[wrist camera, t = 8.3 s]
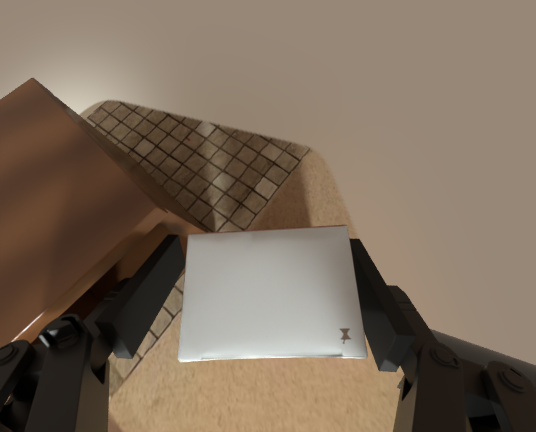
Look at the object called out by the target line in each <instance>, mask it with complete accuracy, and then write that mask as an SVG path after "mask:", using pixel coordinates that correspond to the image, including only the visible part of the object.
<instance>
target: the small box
mask: <svg viewBox="0 0 536 432" xmlns="http://www.w3.org/2000/svg"><path fill="white" fill-rule="evenodd" d="M367 356H368V354H367V347H366V341H365V335H364V329H363V322H362V316H361V310H360V304H359V297H358V291H357V285H356V278H355V272H354V265H353V258H352V252H351V246H350V240H349V233H348V227H347V225H334V226H317V227H300V228H283V229H266V230H248V231H231V232H213V233H197V234H189V235H188V241H187V253H186V265H185V278H184V290H183V302H182V314H181V327H180V340H179V352H178V360H179V361H180V362H190V361H201V360H217V359H248V358H289V357H340V358H364V359H366V358H367Z"/></svg>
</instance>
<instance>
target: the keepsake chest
mask: <svg viewBox="0 0 536 432" xmlns="http://www.w3.org/2000/svg"><path fill="white" fill-rule="evenodd" d="M197 233H209V232H208V231H207V230H205V229H204V228H203V227H202V226H201V225H200V224H199V223H198V222H197V221H196V220H195V219H194V218H193V217H192V216H191V215H190V214H189V213H188V212H187V211H186V210H185V209H184V208H183V207H182V206H181V205H180V204H179V203H178V202H177V201H176V200H175V199H174V198H173V197H172V196H171V195H170V194H169V193H168V192H167V191H166V190H165V189H164V188H163V187H162V186H161V185H160V184H159V183H158V182H157V181H156V180H155V179H154V178H153V177H152V176H151V175H150V174H149V173H148V172H147V171H146V170H145V169H144V168H143V167H142V166H141V165H140V164H139V163H138V162H137V161H136V160H135V159H134V158H132V157H131V156H130V155H129V154H127V153H125V152H124V151H123V150H122V149H120V148H119V147H118V146H117V145H115V144H114V143H113V142H112V141H110V140H109V139H108V138H107V137H105V136H104V135H103V134H102V133H100V132H99V131H98V130H97V129H95V128H94V127H93V126H92V125H91V124H89V123H88V122H87V121H86V120H84V119H83V118H82V117H81V116H79V115H78V114H77V113H76V112H74V111H73V110H72V109H70V108H69V107H68V106H67V105H66V104H64V103H63V102H62V101H60V100H59V99H58V98H57V97H55V96H54V95H53V94H52V93H51V92H50V91H49V90H48V89H47V88H45V87H44V86H43V85H42V84H40V83H39V82H38V81H37V80H35V79H34V78H31V79H29V80H28V81H27V82H25V83H24V84H22V85H21V86H19V87H18V88H16V89H15V90H14V91H12V92H11V93H9V94H8V95H7V96H5V97H3V98H2V99H1V100H0V348H1V347H2V346H4V345H6V344H8V343H10V342H13V341H16V340H22V339H24V340H27V341H28V342H29V343H30V344H31V345H37V344H41V343H43V342H42V341H41V340H40V339H39V338H38V337H37V336H38V334H39V333H40V331H41V330H42V329H43V328H44V327H45V326H46V325H47V324H48V323H50V322H51V321H53V320H54V319H56V318H58V317H60V316H63V315H66V314H77V315H78V316H79V317H80V318H81V319H82V321H84V319H85V318H86V317H87V316H88V315H89V314H90V313H91V312H92V310H93V309H94V308H95V307H96V306H97V305H98V304H99V303H100V302H101V300H103V298H104V297H105V296H106V295H107V294H108V293H109V292H110V290H111V289H112V288H113V287H114V286H115V285H116V284H117V283H118V282H120V281H121V280H123V279H124V278H126V277H132V276H133V275H134V274H135V273H136V272H137V270H138V269H139V268H140V267H141V266H142V264H143V263H144V262H145V261H146V260H147V259H148V257H149V256H150V255H151V254H152V253H153V251H154V250H155V249H156V248H157V247H158V245H159V244H160V243H161V242H162V241H163V240H164V238H165V237H166V236H167V235H168V234H173V235H179V238H180V242H181V246H182V250H183V254H184V258H185V262H186V253H187V241H188V235H189V234H197ZM184 272H185V268H184V269H183V271H182V273H181V275H182V274H183V273H184ZM181 275H180V276H181ZM180 276H179V277H180Z"/></svg>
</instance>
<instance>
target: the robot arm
mask: <svg viewBox="0 0 536 432" xmlns="http://www.w3.org/2000/svg"><path fill="white" fill-rule="evenodd" d="M349 240H350V246H351V252H352V258H353V265H354V272H355V278H356V285H357V291H358V297H359V304H360V310H361V316H362V322H363V329H364V332H365V335H366V337H367V340H368V343H369V345H370V348H371V351H372V354H373V356H374V359H375V362H376V364H377V367H378V370H379V371H388V372H396V371H397V369H398V368H399V366H401V368H402V370H403V372H404V374H405V375H404V376H403V378H402V380H401V381H400V383H399V385H398V388H399V389H400V388H401V390H400V395H399V401H398V407H397V412H396V418H395V423H394V429H393V432H536V388H535V386H534V385H533V384H532V382H531V381H530V380H529V379H528V378H526V377H525V376H524V375H523V374H522V373H521V372H519V371H518V370H516V369H515V368H513V367H512V366H509V365H507V364H505V363H503V362H498V361H492V362H489V363H488V364H487V365H486V366H482V365H479V364H476V363H473V362H470V361H467V360H464V359H462V358H459V357H458V356H457V355H456V354H455V353H454V352H453V351H452V350H451V349H450V348H448V347H447V346H445V345H444V344H442V343H439V342H438V341H437V340H436V338H435V337H434V335H433V334H432V332H431V331H430V329H429V328H428V326H427V325H426V323H425V322H424V320H423V319H422V317H421V316H420V314H419V313H418V312H417V311H416V308H415V307H414V305H413V304H412V302H411V301H410V299H409V298H408V296H407V295H406V293H405V292H404V291H402V290H401V289H400V288H399V287H398V286H389V285H386V283H385V282H384V280H383V278H382V276H381V275H380V273H379V271H378V270H377V268H376V266H375V264H374V263H373V261H372V260H371V258H370V256H369V254H368V253H367V251H366V249H365V247H364V246H363V244H362V242H361V241H360V239H349ZM185 265H186V262H185V258H184V254H183V250H182V246H181V242H180V238H179V235H173V234H168V235H167V236H166V237H165V238H164V240H163V241H162V242H161V243H160V244H159V245H158V247H157V248H156V249H155V250H154V251H153V253H152V254H151V255H150V256H149V257H148V259H147V260H146V261H145V262H144V263H143V264H142V266H141V267H140V268H139V269H138V270H137V272H136V273H135V274H134V275H133V276H132V277H126V278H124V279H123V280H121V281H120V282H118V283H117V284H116V285H115V286H114V287H113V288H112V289H111V290H110V292H109V293H108V294H107V295H106V296H105V297H104V298H103V300H101V302H100V303H99V304H98V305H97V306H96V307H95V308H94V309H93V310H92V312H91V313H90V314H89V315H88V316H87V317H86V318H85V319H84V321H82V319H81V318H80V317H79V316H78V315H77V314H66V315H63V316H60V317H58V318H56V319H54V320H53V321H51V322H50V323H48V324H47V325H46V326H45V327H44V328H43V329H42V330H41V331H40V333H39V334H38V336H37V337H38V338H39V339H40V340H41V341H42V342H43V343H41V344H37V345H31V344H30V343H29V342H28V341H27V340H24V339H22V340H16V341H13V342H10V343H8V344H6V345H4V346H2V347H1V348H0V432H108V404H109V370H110V363H109V360H108V357H109V356H110V354H111V353H112V351H113V353H114V354H115V356H116V357H117V358H127V359H132V358H133V357H134V355H135V353H136V351H137V350H138V348H139V346H140V344H141V343H142V341H143V339H144V337H145V336H146V334H147V332H148V330H149V329H150V327H151V325H152V323H153V322H154V320H155V318H156V316H157V315H158V313H159V311H160V309H161V308H162V306H163V304H164V303H165V301H166V299H167V297H168V296H169V294H170V292H171V290H172V289H173V287H174V285H175V283H176V282H177V280H178V278H179V276H180V275H181V273H182V271H183V269H184V268H185ZM9 396H10V398H9V400H8V401H7V399H8V397H9ZM6 401H7V402H6ZM5 402H6V404H5ZM4 404H5V405H4Z"/></svg>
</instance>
